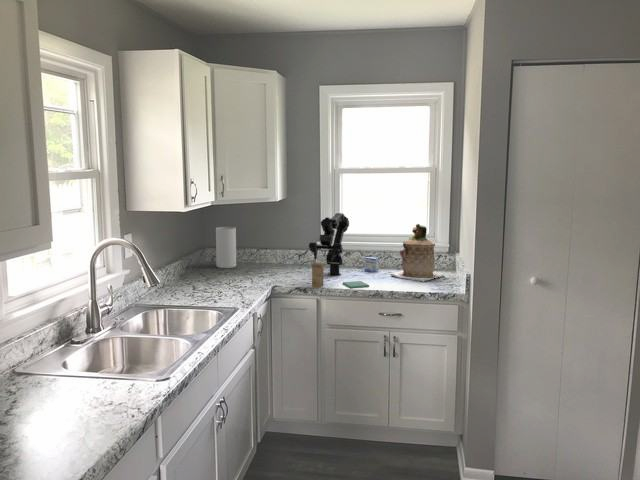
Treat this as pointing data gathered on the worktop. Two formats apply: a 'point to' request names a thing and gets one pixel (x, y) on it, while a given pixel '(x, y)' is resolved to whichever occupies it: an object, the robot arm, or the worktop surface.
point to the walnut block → (317, 274)
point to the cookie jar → (418, 257)
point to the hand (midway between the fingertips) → (322, 260)
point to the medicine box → (371, 264)
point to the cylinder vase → (226, 247)
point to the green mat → (355, 284)
